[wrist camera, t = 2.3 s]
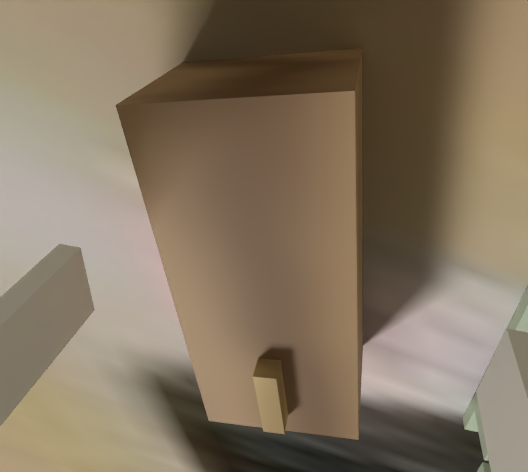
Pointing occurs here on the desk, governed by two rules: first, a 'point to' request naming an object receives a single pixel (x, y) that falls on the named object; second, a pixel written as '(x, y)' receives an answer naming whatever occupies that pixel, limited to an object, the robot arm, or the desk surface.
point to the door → (261, 230)
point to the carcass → (524, 321)
